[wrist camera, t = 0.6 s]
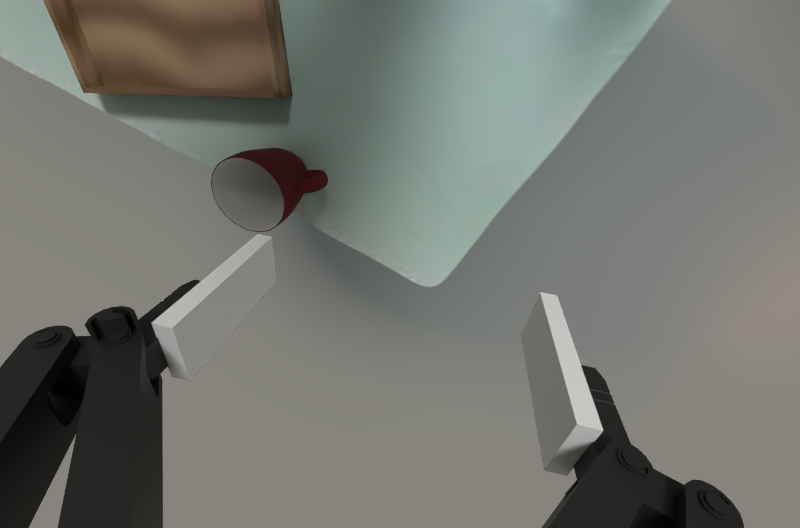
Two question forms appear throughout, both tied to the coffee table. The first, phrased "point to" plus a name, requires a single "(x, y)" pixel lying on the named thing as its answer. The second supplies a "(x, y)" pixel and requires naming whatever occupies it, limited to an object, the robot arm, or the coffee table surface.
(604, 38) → the coffee table surface
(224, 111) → the coffee table surface
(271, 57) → the tray
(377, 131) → the coffee table surface
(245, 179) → the mug
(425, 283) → the coffee table surface
